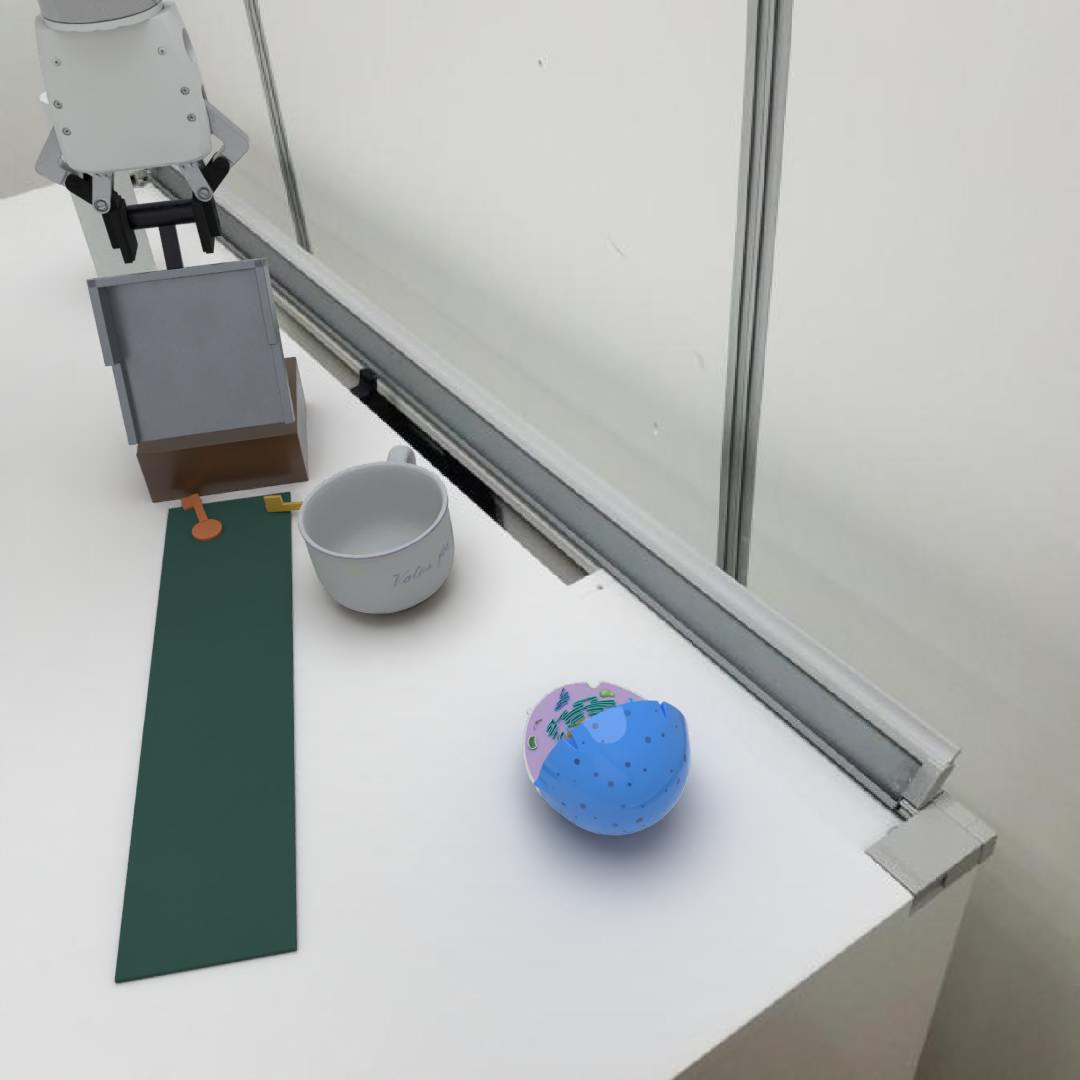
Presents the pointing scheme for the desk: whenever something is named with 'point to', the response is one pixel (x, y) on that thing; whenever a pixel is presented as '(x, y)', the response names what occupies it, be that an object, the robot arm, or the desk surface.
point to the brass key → (280, 504)
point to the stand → (229, 455)
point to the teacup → (380, 534)
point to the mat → (216, 752)
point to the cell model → (607, 756)
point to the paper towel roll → (95, 230)
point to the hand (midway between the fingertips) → (170, 248)
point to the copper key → (202, 520)
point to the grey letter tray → (191, 339)
